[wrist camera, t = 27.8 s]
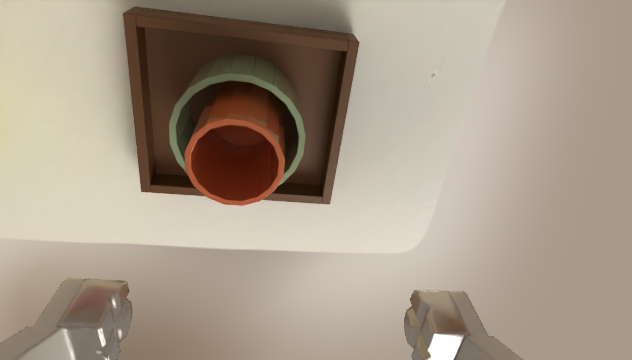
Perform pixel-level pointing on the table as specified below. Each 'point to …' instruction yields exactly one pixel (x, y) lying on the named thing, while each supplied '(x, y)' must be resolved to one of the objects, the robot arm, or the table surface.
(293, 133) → the sage cup
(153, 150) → the tray
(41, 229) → the table surface
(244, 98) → the terracotta cup
